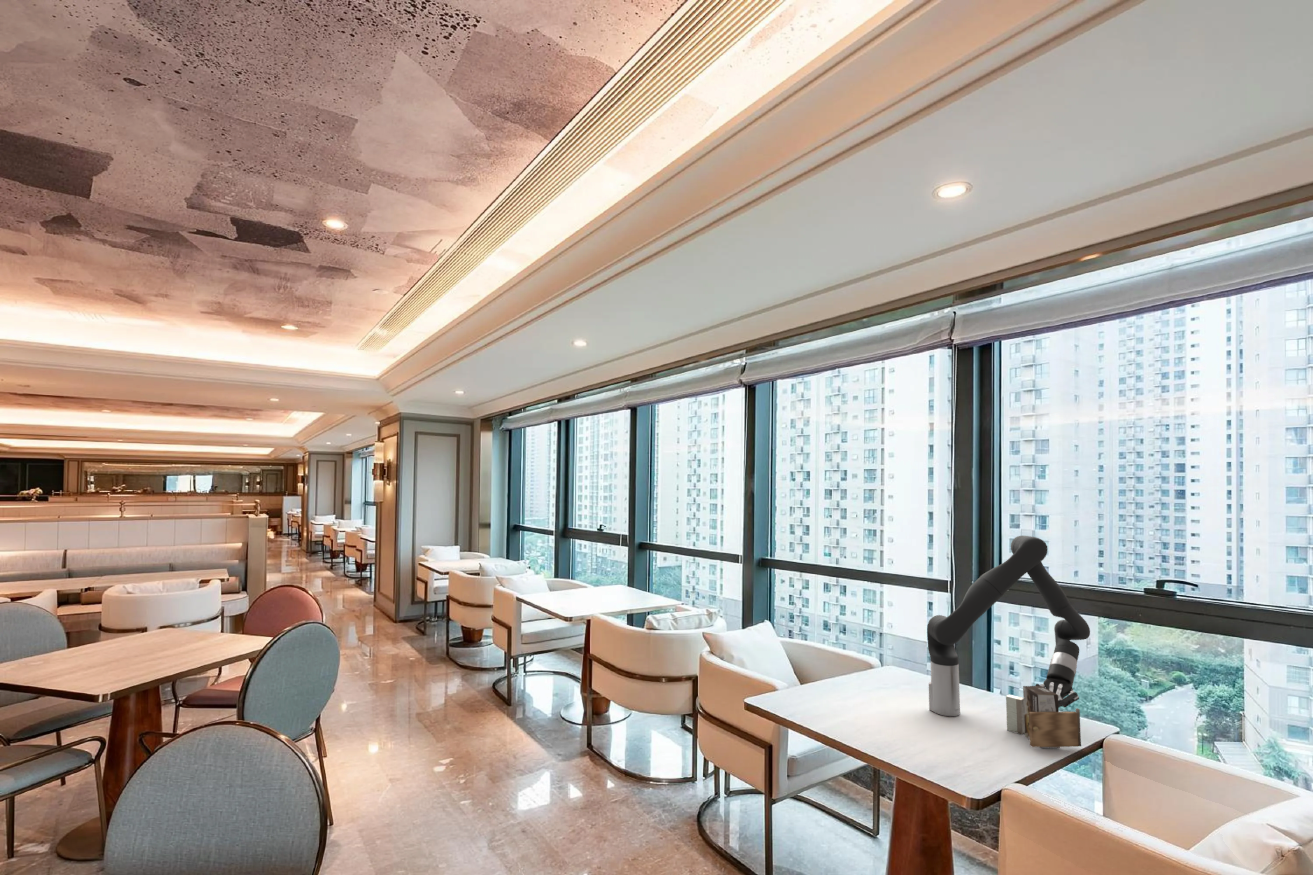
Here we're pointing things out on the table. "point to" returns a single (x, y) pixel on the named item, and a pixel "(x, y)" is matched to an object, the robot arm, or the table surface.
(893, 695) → the table surface
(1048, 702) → the coffee box
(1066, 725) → the wooden slab
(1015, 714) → the grey tall block
